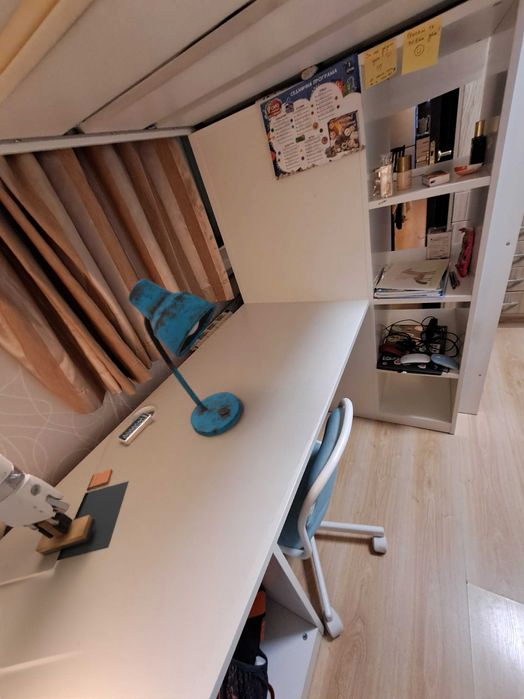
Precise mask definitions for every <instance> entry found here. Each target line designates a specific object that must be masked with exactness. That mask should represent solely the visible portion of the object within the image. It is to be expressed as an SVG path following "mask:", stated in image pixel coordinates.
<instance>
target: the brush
mask: <svg viewBox="0 0 524 699" xmlns="http://www.w3.org/2000/svg"><path fill="white" fill-rule="evenodd" d="M54 516H55V515H54ZM54 516H53V517H54ZM94 523H95V520H94V519H93V518H92V517H91V516H90V515H87V516H84V517H81V518H78V519H75V520H74V519H72V523H71V526H70V528H69V530H68V533H67V534H65V535H63V534H61V533H60V532H59V531H57V530H56V529H54V528H53V524H51V523H49V522H48V521H46V520H43V521H39V522H37V525H39V526H40V527H42V528H43V529H45V530H46V531H48V532H49V533H51V534H52V535H54V537H53V538H50V539H49V538H47V537H46V536H44V535H43V534H41V537H40V539H39V541H38V543H37V545H36V548H35V552H37V553H38V554H40V555H42V556H45V555H47V554H51V553H54V552H56V551H61V549H63V548H66V547H70V546H73V545H76V544H79V543H82V542H85V541H88V540H89V539H90V536H91V533H92V530H93V526H94Z"/></svg>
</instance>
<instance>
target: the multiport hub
mask: <svg viewBox="0 0 524 699" xmlns="http://www.w3.org/2000/svg"><path fill="white" fill-rule="evenodd" d="M154 421H155V418H154V417H153V416H152V414H150V413H147V412H141V414H140V415H139V416H138V417H136V418H135V420H133V422H131V423H130V424H129V425H128V427H126V428H125V429H124V430H123V431H122V432H121V433H120V434H119V435H118V436H117V439H118V441H119V442H120V443H123V444H124V445H126V446H128V445H130V444H131V443H132V442H133V441H134V439H136V438H137V436H138V435H140V433H141V432H142V431H143V430H144V429H146V428H147V427H148V426H150V425H151V424H152V423H153V422H154Z"/></svg>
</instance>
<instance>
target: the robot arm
mask: <svg viewBox="0 0 524 699" xmlns="http://www.w3.org/2000/svg"><path fill="white" fill-rule="evenodd" d="M64 496H65V495H64V494H63V493H62V492H60V490H58V489H57V488H55V487H54V486H52V485H51V484H49V483H48V482H46V481H44V480H43V479H41V478H39V477H37V476H35V475H32V474H30V473H25V471H23V470H22V469H20V467H18V466H17V465H16V464H14V463H13V462H11V460H9V459H8V458H6V457H5V456H4V455H3V454H1V453H0V522H1V523H3V524H4V525H6V526H8V527H10V528H21V527H27V528H29V529H30V530H31V531H34V532H35V531H36V532H38V533H39V534H41V535H42V534H43V535H44V536H46V537H47V538H49V539H50V538H53V537H54V535H52V534H51V533H49V532H48V531H46V530H45V529H43V528H42V527H40V526H39V525H37V522H39V521H43V520H46V521H48V522H49V523H51V524H53V528H54V529H56V530H57V531H59V532H60V533H61V534H63V535H65V534H67V533H68V530H69V528H70V526H71V523H72V520H73V518H71V517H70V516H69V515H68V514H66V513H67V512H68V509H69V507H70V503H67V502H65V501H62V500H63V499H64ZM53 516H54V517H53Z"/></svg>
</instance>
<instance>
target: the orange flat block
mask: <svg viewBox="0 0 524 699" xmlns="http://www.w3.org/2000/svg"><path fill="white" fill-rule="evenodd" d="M97 474H98V473H94V474H92V476H91V479H90V482H89V483H88V486H87V488H86V491H87V492H88V491H91V490H93V489H96V488H95V487H94V486H93V485H94V483H95V480H96V477H97Z"/></svg>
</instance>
